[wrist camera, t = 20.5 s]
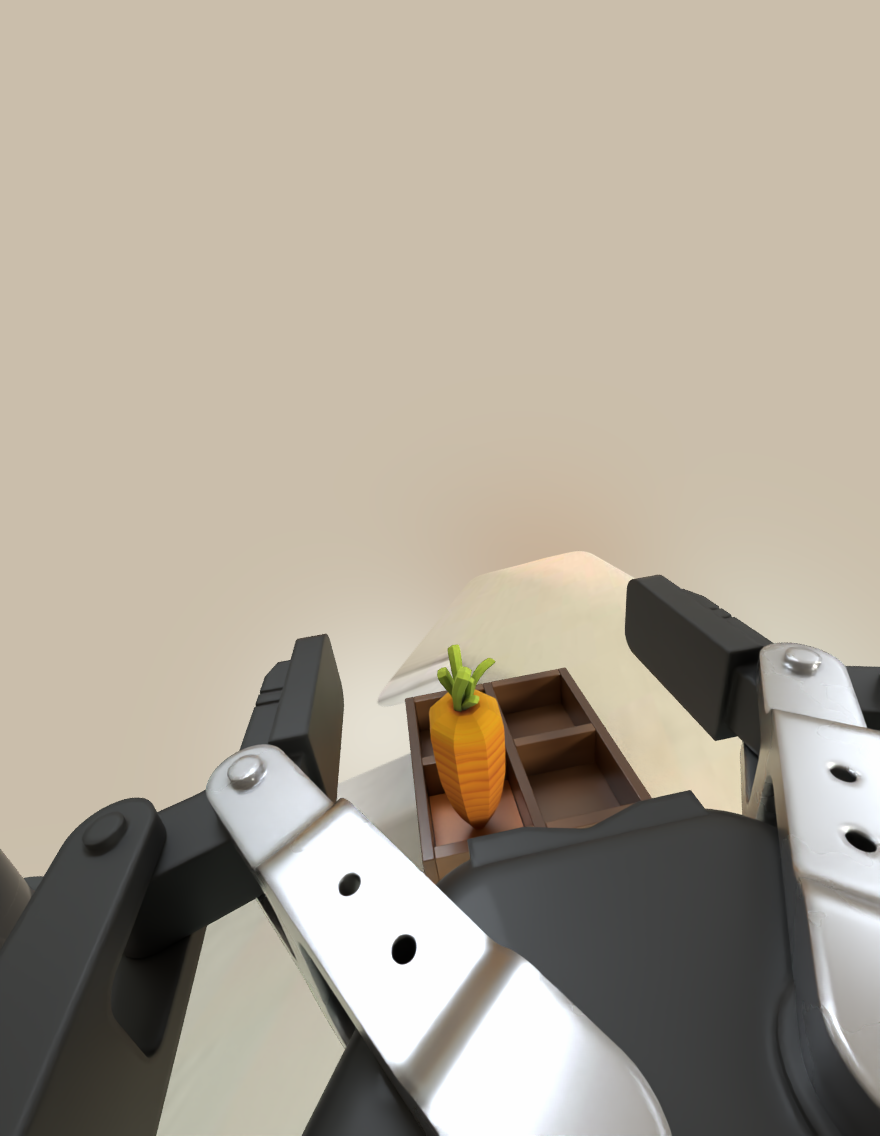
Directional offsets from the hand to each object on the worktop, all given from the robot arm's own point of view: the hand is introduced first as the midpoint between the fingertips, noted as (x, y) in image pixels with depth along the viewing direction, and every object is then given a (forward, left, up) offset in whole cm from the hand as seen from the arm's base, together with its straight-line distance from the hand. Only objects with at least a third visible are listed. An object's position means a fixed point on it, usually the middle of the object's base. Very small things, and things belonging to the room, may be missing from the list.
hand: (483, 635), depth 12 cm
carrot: (0, +12, -24) cm, 27 cm away
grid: (+4, +16, -25) cm, 30 cm away
